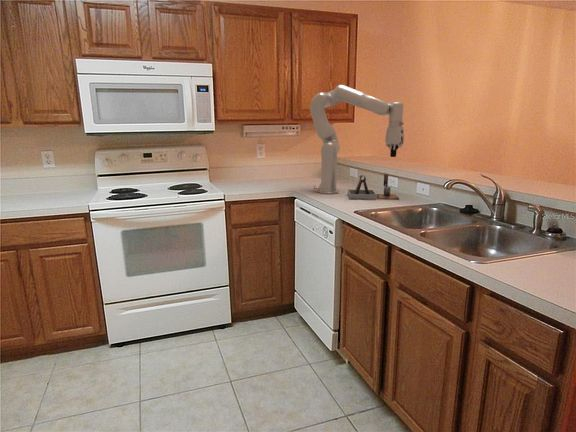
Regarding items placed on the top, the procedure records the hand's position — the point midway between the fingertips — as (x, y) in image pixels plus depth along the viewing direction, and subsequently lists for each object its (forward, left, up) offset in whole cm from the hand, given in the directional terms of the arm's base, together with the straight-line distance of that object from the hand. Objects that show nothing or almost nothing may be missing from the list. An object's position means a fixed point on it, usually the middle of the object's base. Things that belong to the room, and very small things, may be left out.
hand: (393, 156), depth 227 cm
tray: (-18, -6, -23) cm, 30 cm away
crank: (-3, -3, -22) cm, 22 cm away
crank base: (-3, -6, -23) cm, 24 cm away
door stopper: (-17, -6, -23) cm, 29 cm away
